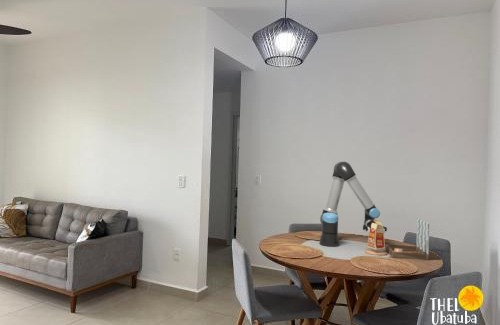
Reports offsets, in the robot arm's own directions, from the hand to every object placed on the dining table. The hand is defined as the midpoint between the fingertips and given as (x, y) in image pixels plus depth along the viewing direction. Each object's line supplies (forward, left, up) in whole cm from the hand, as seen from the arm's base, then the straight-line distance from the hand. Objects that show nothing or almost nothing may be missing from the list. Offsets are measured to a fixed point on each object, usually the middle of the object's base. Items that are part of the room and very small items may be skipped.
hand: (376, 230), depth 242 cm
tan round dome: (-1, 0, -15) cm, 16 cm away
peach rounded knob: (+5, +13, -16) cm, 21 cm away
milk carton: (-1, 0, -12) cm, 12 cm away
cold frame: (-3, +20, -15) cm, 25 cm away
